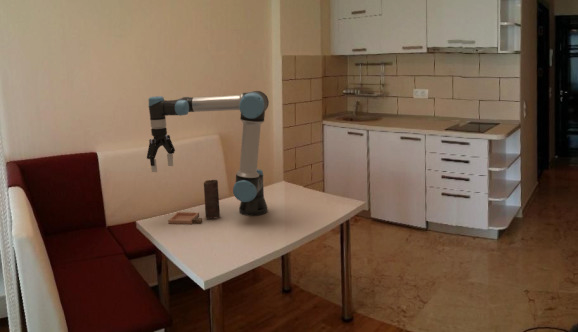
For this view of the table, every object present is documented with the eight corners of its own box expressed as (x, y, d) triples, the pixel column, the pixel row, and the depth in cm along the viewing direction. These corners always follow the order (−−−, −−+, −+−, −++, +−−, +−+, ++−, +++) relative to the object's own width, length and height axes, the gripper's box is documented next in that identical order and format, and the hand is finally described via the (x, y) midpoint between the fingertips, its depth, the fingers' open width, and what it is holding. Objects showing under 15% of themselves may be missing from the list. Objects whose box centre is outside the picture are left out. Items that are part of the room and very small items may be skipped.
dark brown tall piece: (217, 220, 264) (214, 182, 259) (203, 220, 265) (201, 182, 261) (221, 216, 271) (219, 178, 267) (208, 215, 272) (206, 178, 268)
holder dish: (199, 216, 272) (199, 212, 271) (191, 224, 259) (191, 220, 259) (177, 215, 273) (177, 212, 273) (168, 223, 261) (168, 220, 260)
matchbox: (202, 222, 262) (202, 218, 262) (200, 223, 259) (200, 220, 259) (193, 221, 263) (192, 218, 263) (191, 223, 260) (190, 220, 260)
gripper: (167, 123, 272) (171, 163, 277) (136, 131, 250) (141, 174, 255) (179, 124, 270) (183, 163, 274) (149, 131, 247) (153, 174, 252)
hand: (162, 168), depth 265 cm, fingers open, 13 cm apart
